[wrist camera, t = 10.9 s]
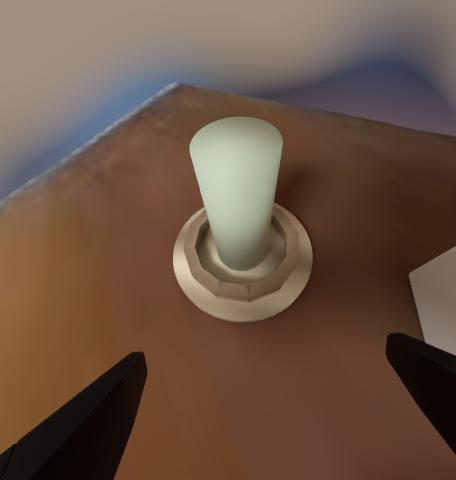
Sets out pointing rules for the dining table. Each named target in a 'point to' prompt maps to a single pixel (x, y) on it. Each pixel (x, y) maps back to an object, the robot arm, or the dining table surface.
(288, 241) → the flange plate
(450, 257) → the medicine bottle
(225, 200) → the post
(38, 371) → the dining table surface
